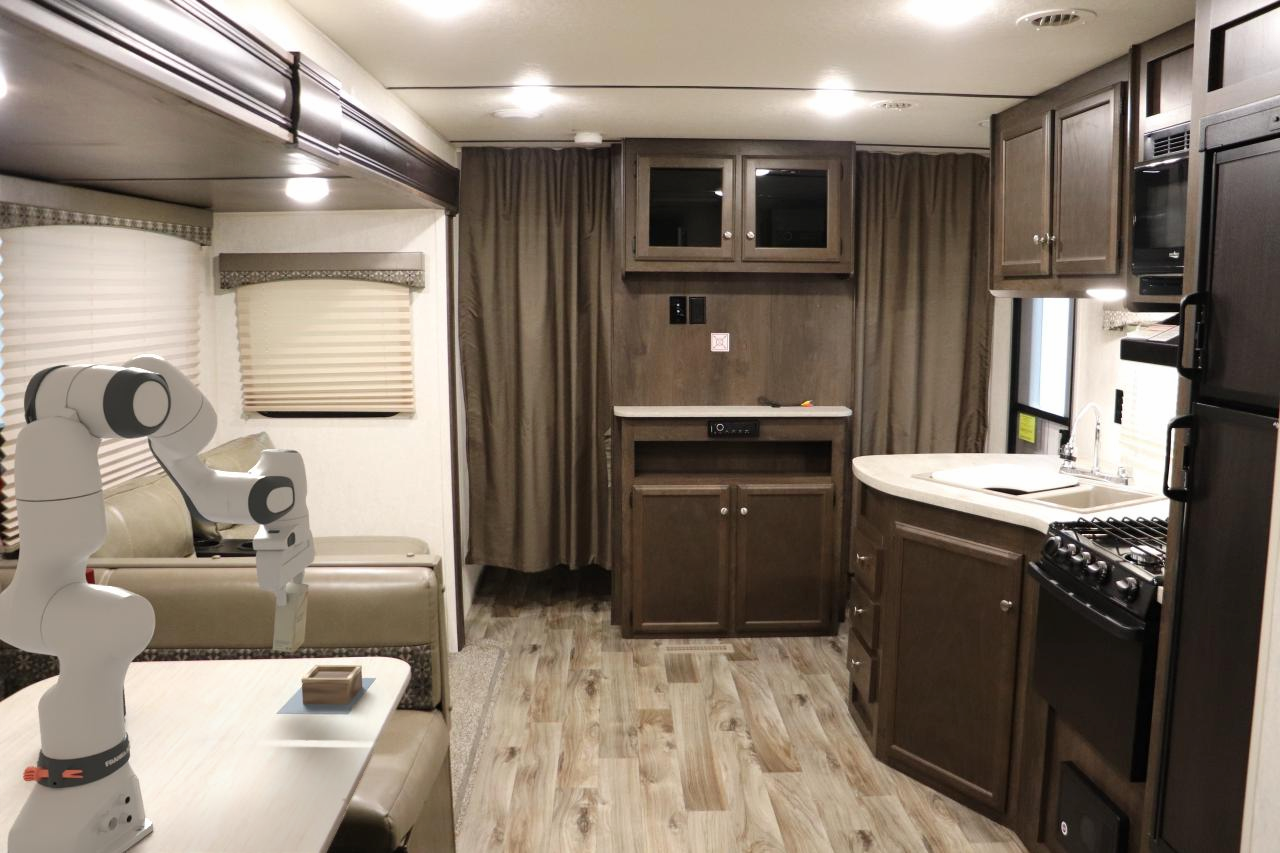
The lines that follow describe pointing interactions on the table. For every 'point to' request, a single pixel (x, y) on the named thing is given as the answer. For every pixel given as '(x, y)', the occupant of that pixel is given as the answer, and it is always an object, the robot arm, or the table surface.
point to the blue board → (298, 707)
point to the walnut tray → (331, 684)
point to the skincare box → (291, 619)
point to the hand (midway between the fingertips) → (290, 598)
